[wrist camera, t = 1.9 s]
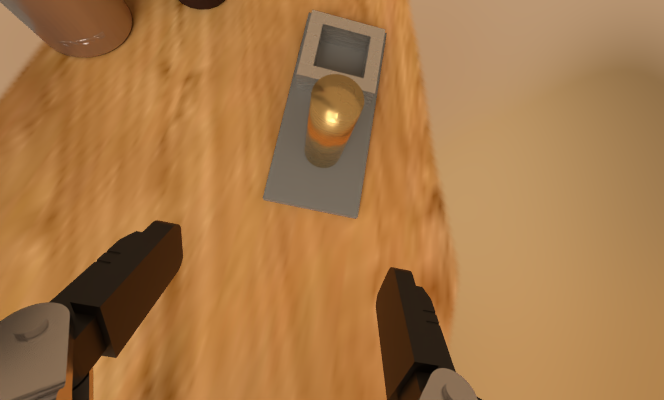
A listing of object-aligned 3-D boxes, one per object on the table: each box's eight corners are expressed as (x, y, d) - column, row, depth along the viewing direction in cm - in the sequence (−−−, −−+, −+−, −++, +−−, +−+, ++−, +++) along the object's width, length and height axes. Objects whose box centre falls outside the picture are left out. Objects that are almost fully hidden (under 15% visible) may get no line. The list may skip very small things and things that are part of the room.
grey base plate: (355, 218, 30) (357, 217, 29) (263, 200, 29) (262, 197, 28) (384, 39, 36) (386, 33, 35) (308, 19, 35) (309, 12, 34)
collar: (368, 106, 32) (375, 93, 29) (296, 88, 31) (296, 73, 29) (378, 46, 34) (385, 29, 32) (310, 28, 33) (312, 9, 31)
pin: (299, 139, 30) (303, 81, 20) (332, 129, 31) (352, 68, 21) (312, 172, 29) (322, 128, 19) (346, 161, 30) (372, 114, 20)
